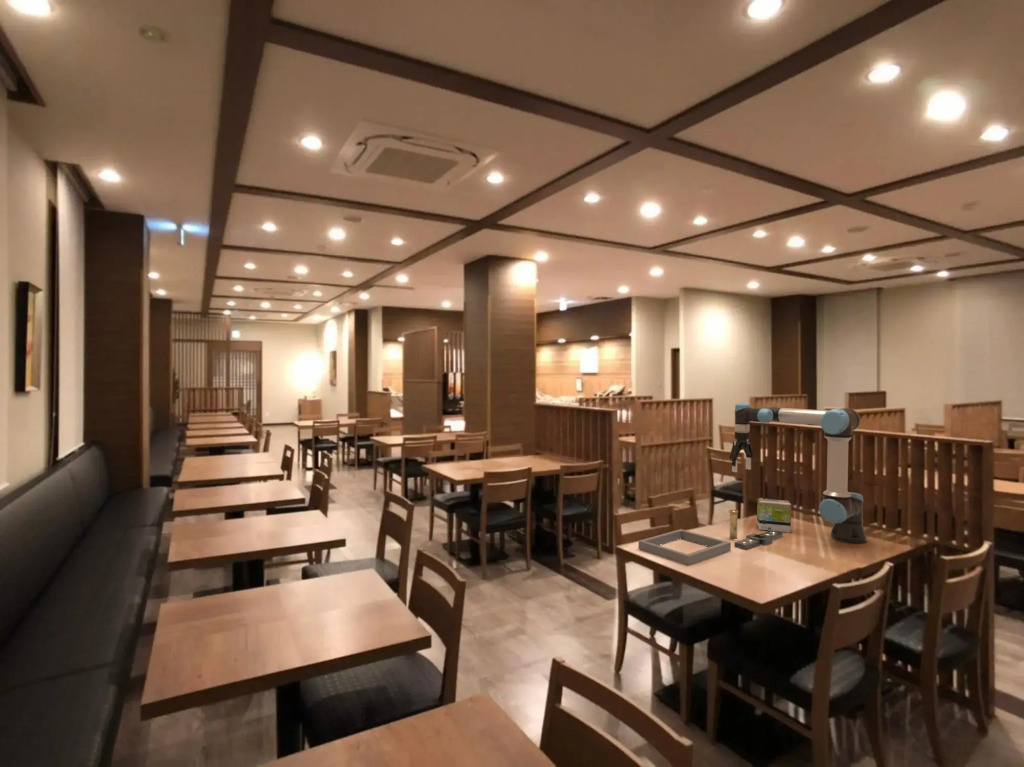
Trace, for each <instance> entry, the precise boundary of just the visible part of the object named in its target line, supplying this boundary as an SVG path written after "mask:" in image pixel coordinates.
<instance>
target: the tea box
mask: <svg viewBox="0 0 1024 767" xmlns="http://www.w3.org/2000/svg"><path fill="white" fill-rule="evenodd" d="M756 510H757V511H756V512H757V514H756V526H757V527H758V530H759V531H770V530H772V531H776V532H780V533H788V534H789V533H791V530H792V529H791V528H792V527H791V525H792V503H790V501H789V500H781V499H768V498H757V508H756Z"/></svg>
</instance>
